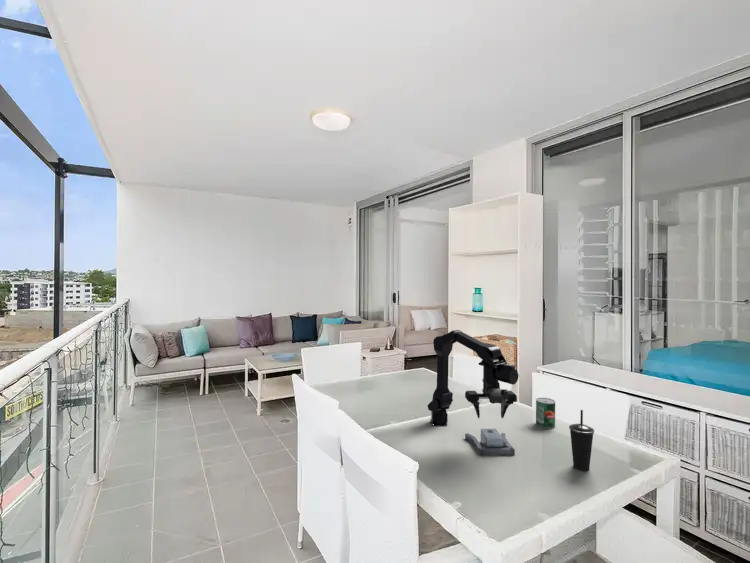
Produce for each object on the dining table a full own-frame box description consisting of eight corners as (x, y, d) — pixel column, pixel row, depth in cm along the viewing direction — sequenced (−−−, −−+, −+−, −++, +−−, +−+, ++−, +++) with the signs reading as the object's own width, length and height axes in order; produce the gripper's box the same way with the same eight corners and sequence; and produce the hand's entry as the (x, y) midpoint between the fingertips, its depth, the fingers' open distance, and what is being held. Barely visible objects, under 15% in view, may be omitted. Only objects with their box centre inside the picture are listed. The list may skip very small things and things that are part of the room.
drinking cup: (564, 462, 135) (564, 406, 134) (584, 461, 135) (585, 406, 135) (577, 473, 127) (578, 414, 127) (599, 472, 128) (599, 413, 127)
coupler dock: (474, 455, 140) (475, 450, 140) (464, 438, 155) (464, 433, 155) (519, 454, 140) (519, 449, 140) (504, 437, 155) (504, 432, 155)
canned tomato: (538, 420, 174) (538, 396, 174) (556, 424, 169) (557, 399, 169) (533, 425, 167) (534, 401, 167) (553, 430, 163) (553, 404, 163)
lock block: (486, 453, 142) (486, 438, 142) (480, 442, 151) (480, 428, 151) (502, 453, 142) (503, 438, 142) (495, 442, 151) (495, 428, 151)
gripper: (472, 384, 139) (472, 426, 140) (523, 384, 140) (522, 426, 140) (464, 376, 151) (464, 415, 151) (511, 376, 151) (511, 415, 151)
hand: (490, 418), depth 148 cm, fingers open, 9 cm apart
